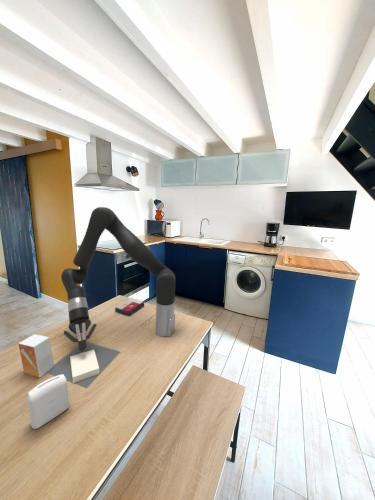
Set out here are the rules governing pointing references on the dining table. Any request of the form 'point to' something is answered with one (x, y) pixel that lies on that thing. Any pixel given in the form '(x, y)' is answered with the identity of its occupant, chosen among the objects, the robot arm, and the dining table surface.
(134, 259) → the robot arm
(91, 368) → the cream tile
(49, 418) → the photo printer
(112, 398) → the dining table surface
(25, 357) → the small box
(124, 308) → the red and black box
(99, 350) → the charcoal mat
